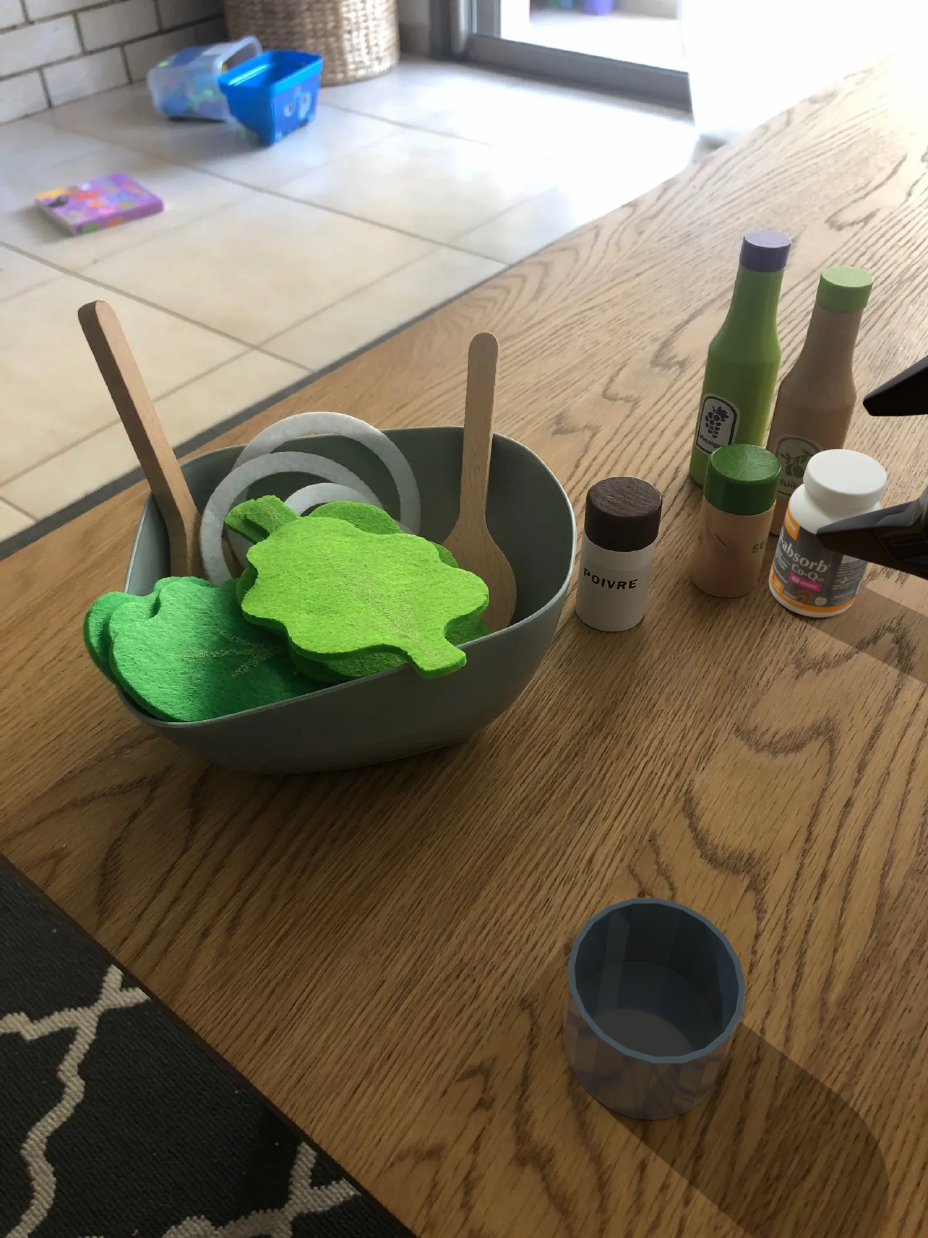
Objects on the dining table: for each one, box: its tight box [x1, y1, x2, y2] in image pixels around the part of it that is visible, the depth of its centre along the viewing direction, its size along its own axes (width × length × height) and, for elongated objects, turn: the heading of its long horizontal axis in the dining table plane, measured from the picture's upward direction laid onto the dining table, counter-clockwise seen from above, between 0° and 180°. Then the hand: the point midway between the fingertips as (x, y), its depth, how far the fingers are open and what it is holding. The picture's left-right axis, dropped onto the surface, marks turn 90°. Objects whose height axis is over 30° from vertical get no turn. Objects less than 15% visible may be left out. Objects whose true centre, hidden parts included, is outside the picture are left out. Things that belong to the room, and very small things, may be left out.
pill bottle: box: [768, 448, 888, 618], centre depth 64 cm, size 6×6×10 cm
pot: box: [562, 897, 747, 1121], centre depth 44 cm, size 7×7×6 cm
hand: (844, 470), depth 49 cm, fingers open, 9 cm apart
